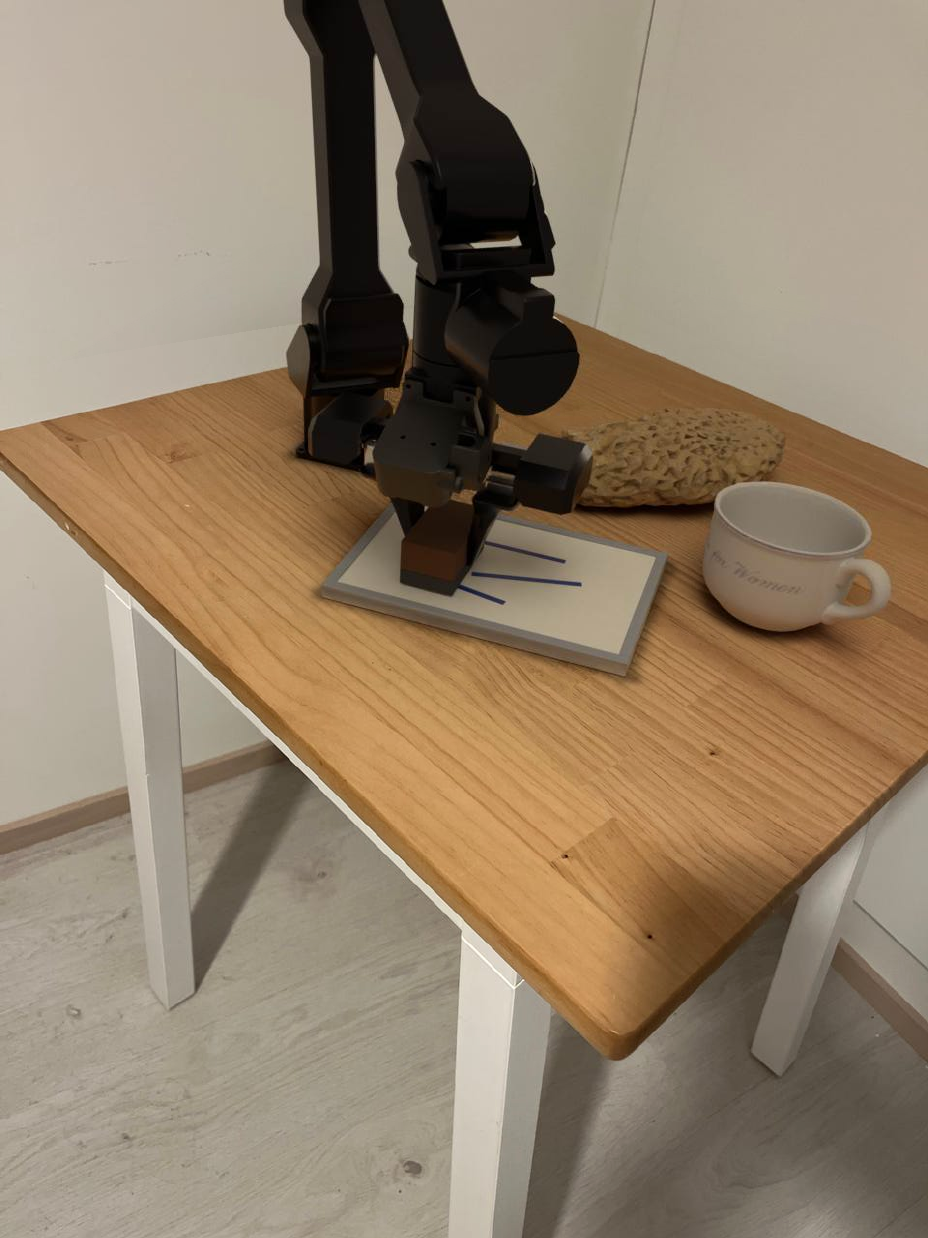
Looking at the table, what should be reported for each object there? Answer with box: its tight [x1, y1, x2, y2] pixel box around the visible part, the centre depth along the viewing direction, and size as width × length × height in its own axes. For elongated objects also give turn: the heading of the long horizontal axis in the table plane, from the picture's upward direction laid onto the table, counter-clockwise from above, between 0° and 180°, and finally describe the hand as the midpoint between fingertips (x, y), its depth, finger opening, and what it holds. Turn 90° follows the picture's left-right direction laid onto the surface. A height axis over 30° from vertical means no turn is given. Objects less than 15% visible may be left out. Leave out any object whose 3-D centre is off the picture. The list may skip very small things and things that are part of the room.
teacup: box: [702, 480, 892, 633], centre depth 75 cm, size 14×11×8 cm
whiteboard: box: [321, 501, 670, 678], centre depth 79 cm, size 22×15×1 cm
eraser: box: [400, 499, 484, 596], centre depth 77 cm, size 4×7×4 cm, turn 161°
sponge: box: [561, 406, 787, 508], centre depth 91 cm, size 13×8×20 cm
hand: (442, 556), depth 78 cm, fingers closed on eraser, 4 cm apart
